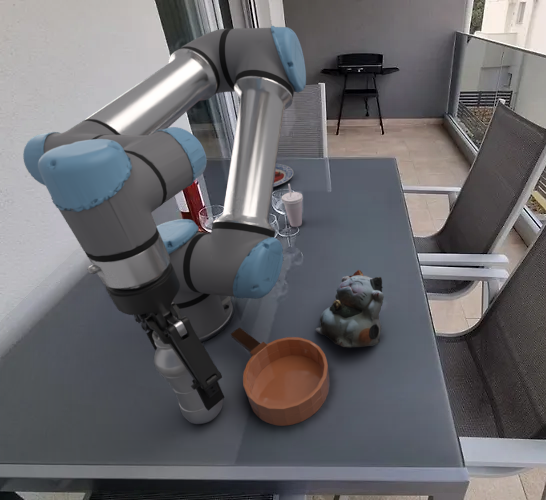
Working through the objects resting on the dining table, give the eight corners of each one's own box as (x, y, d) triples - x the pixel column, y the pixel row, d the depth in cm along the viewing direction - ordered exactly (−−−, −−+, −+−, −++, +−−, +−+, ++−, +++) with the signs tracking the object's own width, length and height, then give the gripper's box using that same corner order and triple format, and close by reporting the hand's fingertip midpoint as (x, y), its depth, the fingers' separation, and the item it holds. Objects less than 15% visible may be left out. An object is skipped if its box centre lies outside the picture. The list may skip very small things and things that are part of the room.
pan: (232, 392, 63) (226, 375, 60) (292, 342, 71) (288, 325, 69) (286, 444, 55) (281, 427, 52) (345, 380, 64) (344, 363, 61)
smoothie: (282, 227, 110) (274, 186, 102) (292, 217, 115) (286, 177, 107) (300, 230, 108) (294, 188, 100) (309, 220, 112) (304, 180, 104)
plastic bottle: (214, 432, 57) (173, 352, 45) (177, 425, 58) (129, 345, 47) (232, 397, 62) (200, 316, 50) (198, 391, 63) (159, 311, 52)
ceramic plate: (264, 164, 156) (262, 157, 154) (307, 175, 143) (306, 168, 141) (216, 185, 139) (214, 178, 137) (259, 200, 126) (258, 192, 124)
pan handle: (231, 343, 69) (227, 334, 67) (244, 333, 71) (241, 324, 69) (257, 365, 64) (254, 356, 63) (270, 353, 66) (268, 344, 65)
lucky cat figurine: (307, 324, 75) (317, 261, 73) (354, 322, 81) (365, 265, 79) (339, 357, 63) (353, 282, 61) (392, 352, 69) (406, 284, 67)
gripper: (69, 251, 47) (132, 353, 59) (156, 339, 34) (214, 448, 46) (126, 228, 52) (174, 327, 64) (223, 297, 38) (259, 406, 50)
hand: (190, 377), depth 55 cm, fingers open, 13 cm apart
